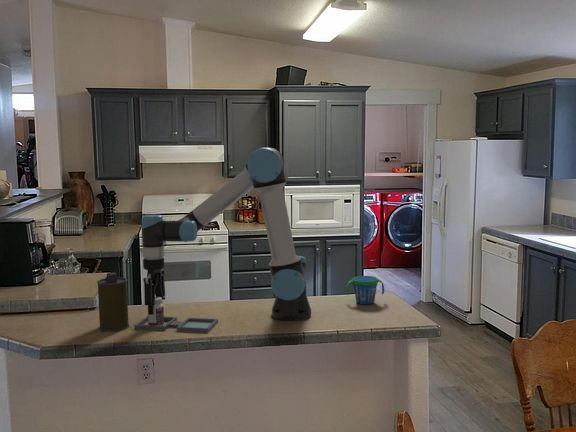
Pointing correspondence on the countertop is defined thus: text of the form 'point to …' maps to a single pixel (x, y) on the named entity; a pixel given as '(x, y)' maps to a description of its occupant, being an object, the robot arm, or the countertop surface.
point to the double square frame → (181, 324)
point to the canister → (113, 303)
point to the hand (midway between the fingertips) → (156, 319)
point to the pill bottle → (158, 312)
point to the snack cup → (365, 288)
